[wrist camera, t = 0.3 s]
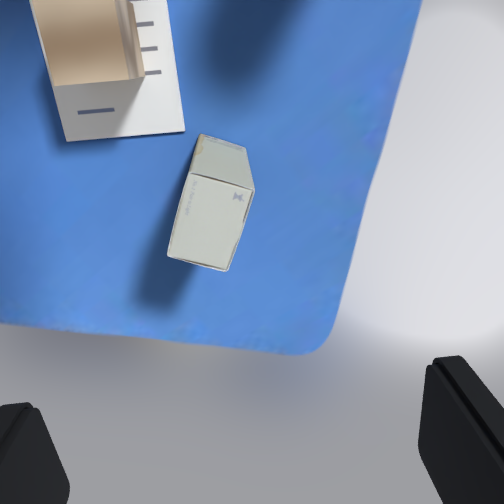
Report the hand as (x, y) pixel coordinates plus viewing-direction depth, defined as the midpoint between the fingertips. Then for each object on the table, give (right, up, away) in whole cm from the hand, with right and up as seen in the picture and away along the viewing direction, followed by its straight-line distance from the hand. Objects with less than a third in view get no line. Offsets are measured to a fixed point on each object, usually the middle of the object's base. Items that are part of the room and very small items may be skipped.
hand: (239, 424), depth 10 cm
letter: (-11, +20, +22) cm, 32 cm away
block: (-11, +20, +22) cm, 32 cm away
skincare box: (-3, +11, +27) cm, 30 cm away
